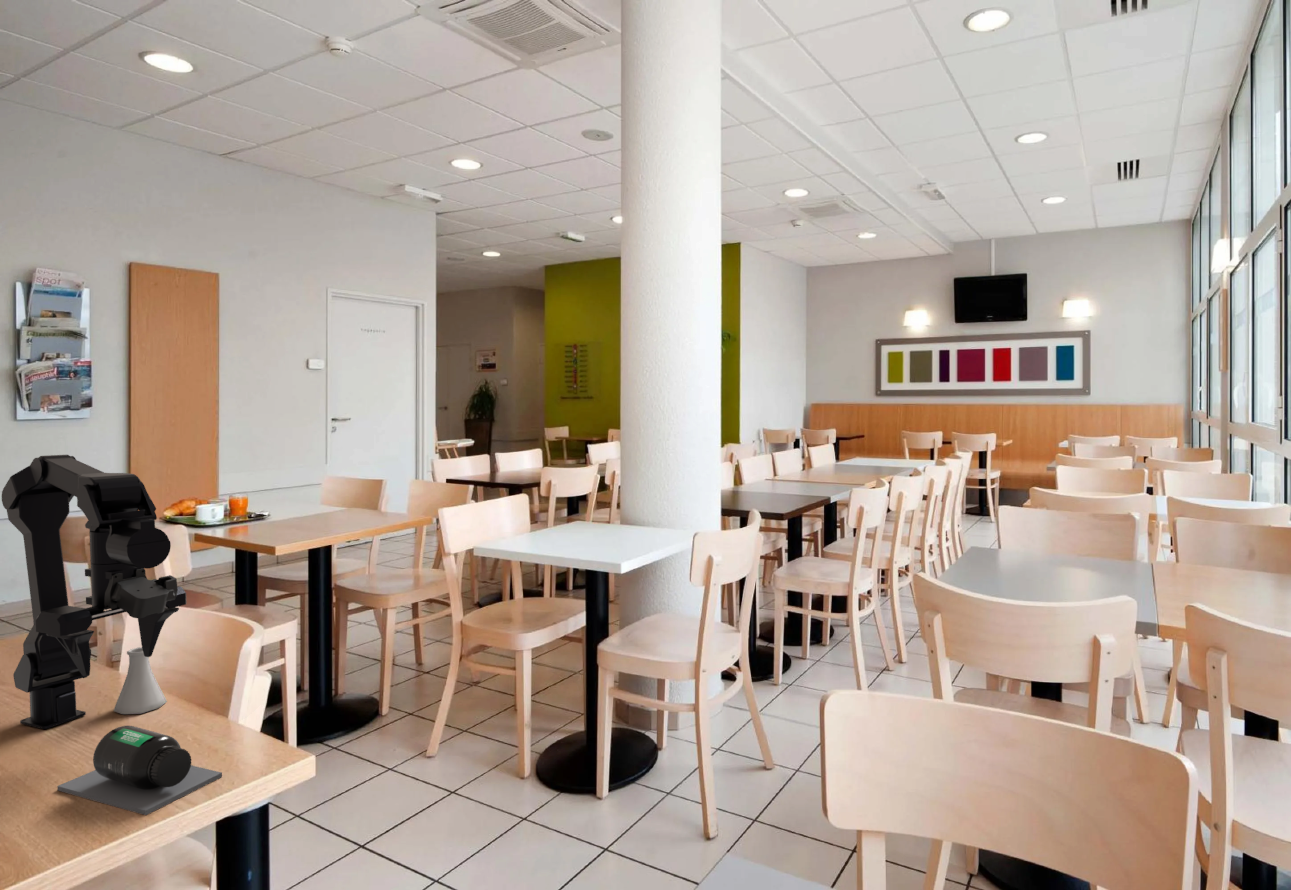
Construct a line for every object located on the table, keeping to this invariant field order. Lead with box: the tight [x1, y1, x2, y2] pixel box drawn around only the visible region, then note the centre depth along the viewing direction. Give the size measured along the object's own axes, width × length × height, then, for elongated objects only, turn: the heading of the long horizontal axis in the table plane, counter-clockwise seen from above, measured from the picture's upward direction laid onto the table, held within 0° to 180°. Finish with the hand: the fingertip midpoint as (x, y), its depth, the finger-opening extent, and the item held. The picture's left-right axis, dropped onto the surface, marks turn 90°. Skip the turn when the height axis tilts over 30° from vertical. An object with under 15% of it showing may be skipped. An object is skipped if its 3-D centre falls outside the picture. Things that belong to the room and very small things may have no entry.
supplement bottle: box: [92, 725, 192, 790], centre depth 106 cm, size 7×7×12 cm
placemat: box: [56, 764, 223, 816], centre depth 107 cm, size 17×11×1 cm, turn 68°
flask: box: [113, 646, 168, 715], centre depth 134 cm, size 7×7×10 cm
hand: (118, 665), depth 116 cm, fingers open, 9 cm apart
